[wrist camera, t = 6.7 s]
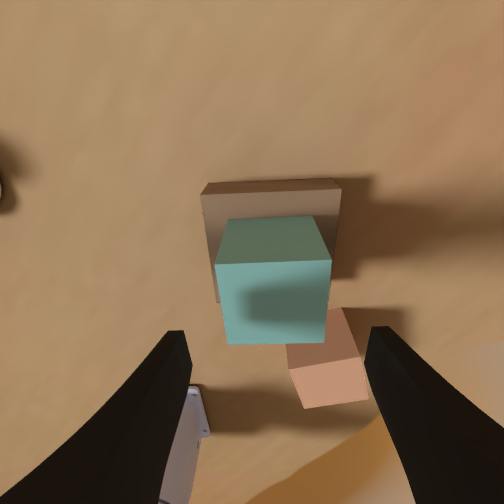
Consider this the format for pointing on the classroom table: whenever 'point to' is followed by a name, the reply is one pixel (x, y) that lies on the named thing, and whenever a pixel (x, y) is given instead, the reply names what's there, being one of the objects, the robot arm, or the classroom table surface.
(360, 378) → the terracotta cube
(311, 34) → the classroom table surface
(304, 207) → the walnut slab
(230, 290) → the teal cube
